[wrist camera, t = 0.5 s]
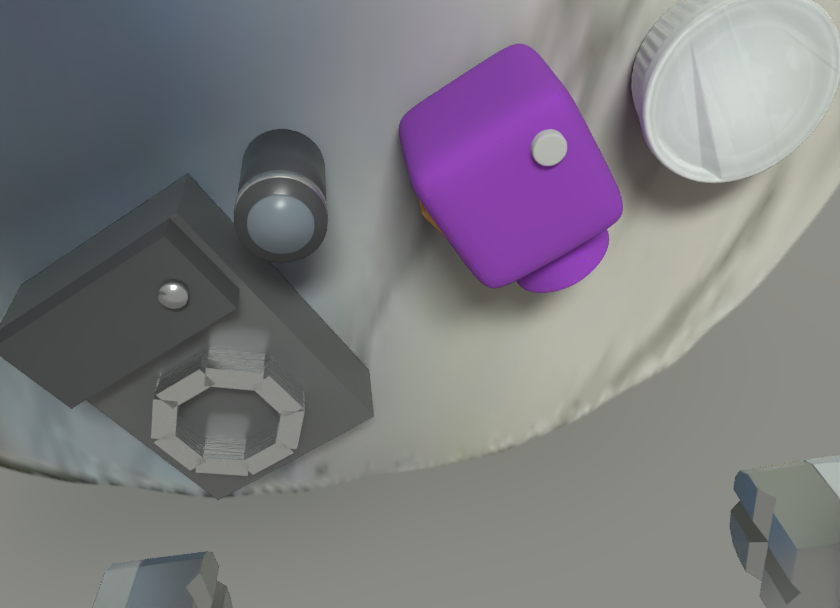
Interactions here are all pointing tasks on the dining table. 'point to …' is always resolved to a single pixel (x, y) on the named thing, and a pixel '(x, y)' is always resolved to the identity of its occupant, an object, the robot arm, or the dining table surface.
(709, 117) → the ramekin
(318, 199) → the lens
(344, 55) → the dining table surface
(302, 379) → the camera body
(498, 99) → the toy camera
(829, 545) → the robot arm
